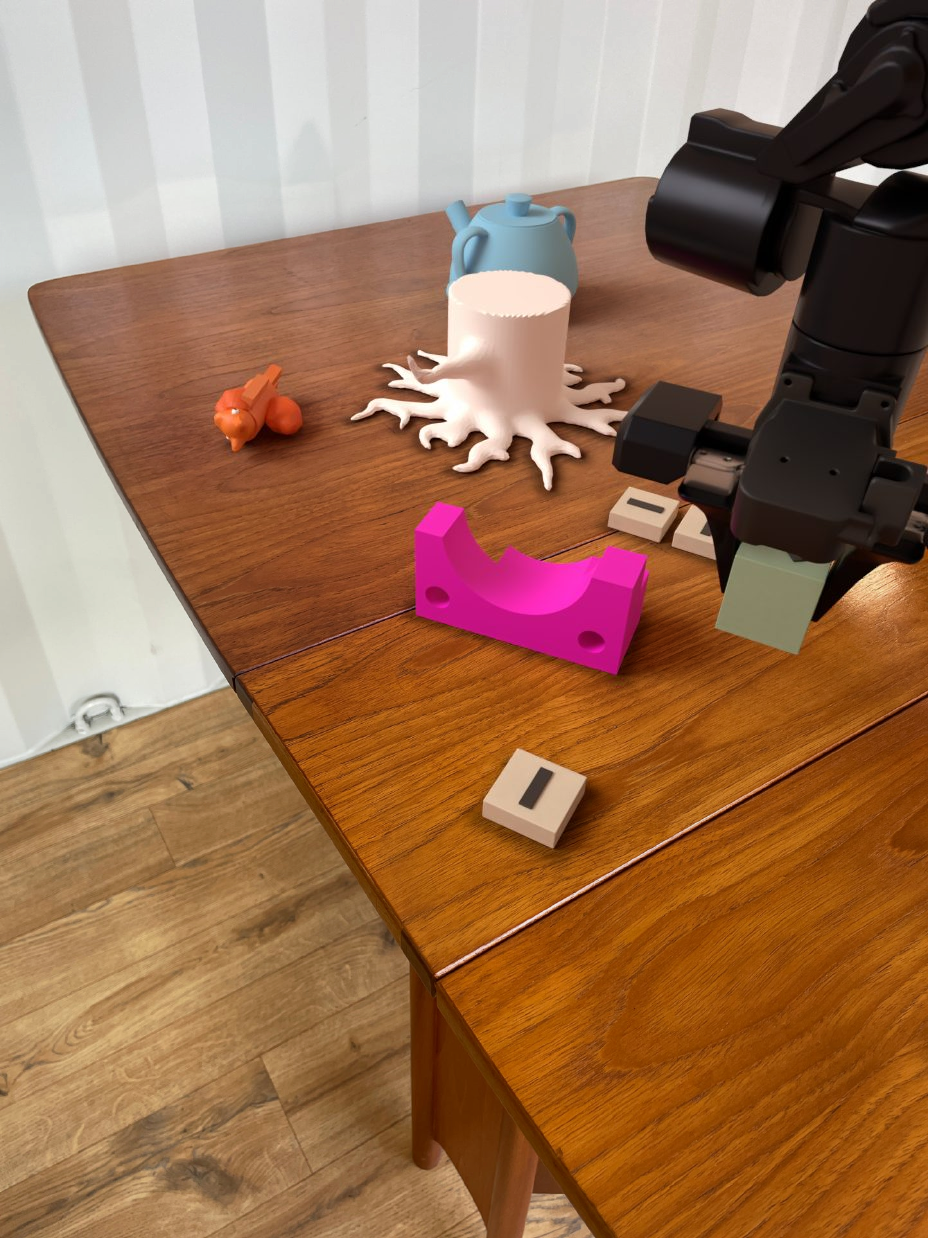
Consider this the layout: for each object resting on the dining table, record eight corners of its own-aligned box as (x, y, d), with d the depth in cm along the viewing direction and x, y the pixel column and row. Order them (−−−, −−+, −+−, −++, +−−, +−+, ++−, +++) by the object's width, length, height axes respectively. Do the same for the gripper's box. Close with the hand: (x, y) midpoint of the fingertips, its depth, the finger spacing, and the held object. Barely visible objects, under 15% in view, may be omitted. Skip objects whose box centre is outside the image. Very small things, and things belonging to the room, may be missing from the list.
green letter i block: (813, 608, 50) (841, 533, 47) (797, 655, 47) (826, 580, 44) (735, 583, 52) (756, 510, 48) (714, 628, 49) (735, 553, 45)
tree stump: (511, 515, 74) (520, 389, 67) (297, 402, 89) (285, 288, 81) (688, 406, 90) (711, 294, 83) (482, 325, 104) (487, 223, 97)
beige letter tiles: (741, 535, 73) (745, 518, 72) (725, 564, 70) (730, 547, 69) (626, 500, 77) (629, 484, 76) (607, 526, 74) (610, 510, 73)
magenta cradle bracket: (639, 619, 65) (656, 535, 60) (616, 674, 60) (632, 588, 55) (450, 567, 69) (451, 484, 64) (415, 614, 64) (414, 529, 60)
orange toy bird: (252, 343, 85) (204, 401, 76) (326, 374, 86) (287, 434, 77) (243, 388, 88) (195, 448, 79) (314, 417, 89) (275, 480, 80)
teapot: (490, 347, 100) (496, 229, 91) (387, 292, 111) (384, 183, 103) (613, 307, 109) (628, 197, 101) (507, 260, 121) (512, 158, 113)
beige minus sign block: (584, 793, 53) (587, 775, 52) (553, 849, 50) (556, 831, 49) (516, 763, 54) (517, 745, 53) (481, 816, 51) (483, 798, 50)
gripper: (592, 348, 36) (555, 634, 47) (1108, 469, 30) (935, 767, 40) (673, 266, 44) (626, 527, 54) (1099, 349, 38) (955, 625, 48)
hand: (769, 603), depth 49 cm, fingers closed on green letter i block, 4 cm apart
